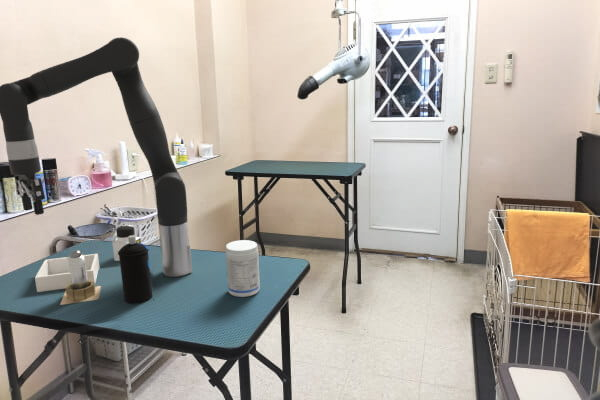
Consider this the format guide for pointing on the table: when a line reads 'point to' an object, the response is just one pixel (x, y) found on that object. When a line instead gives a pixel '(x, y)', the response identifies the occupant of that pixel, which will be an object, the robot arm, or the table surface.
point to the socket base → (81, 294)
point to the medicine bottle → (123, 239)
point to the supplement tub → (242, 268)
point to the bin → (63, 273)
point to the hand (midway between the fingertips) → (33, 212)
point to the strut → (78, 270)
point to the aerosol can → (135, 272)
